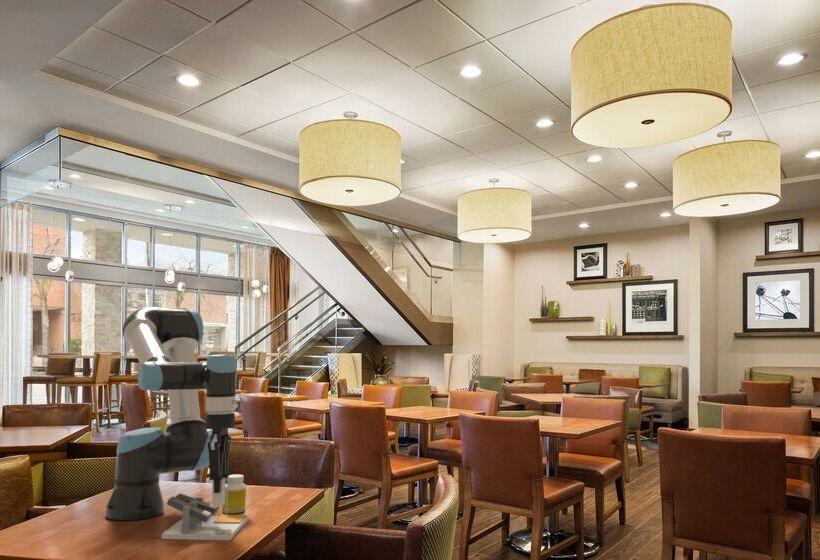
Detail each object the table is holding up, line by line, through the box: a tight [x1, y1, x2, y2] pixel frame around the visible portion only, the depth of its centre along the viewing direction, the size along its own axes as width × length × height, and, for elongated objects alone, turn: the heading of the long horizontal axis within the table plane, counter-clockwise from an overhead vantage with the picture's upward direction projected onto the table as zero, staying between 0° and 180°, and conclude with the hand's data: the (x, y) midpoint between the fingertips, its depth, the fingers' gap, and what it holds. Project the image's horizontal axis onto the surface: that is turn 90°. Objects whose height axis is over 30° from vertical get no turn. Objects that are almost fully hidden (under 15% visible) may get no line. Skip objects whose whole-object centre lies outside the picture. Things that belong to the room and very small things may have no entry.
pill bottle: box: [222, 473, 247, 515], centre depth 174 cm, size 6×6×11 cm
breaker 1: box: [166, 496, 213, 523], centre depth 155 cm, size 11×3×2 cm, turn 88°
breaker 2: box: [175, 493, 220, 516], centre depth 160 cm, size 11×3×2 cm, turn 89°
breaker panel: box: [161, 496, 250, 541], centre depth 160 cm, size 17×18×8 cm
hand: (218, 504), depth 160 cm, fingers closed, pressing on breaker 2
